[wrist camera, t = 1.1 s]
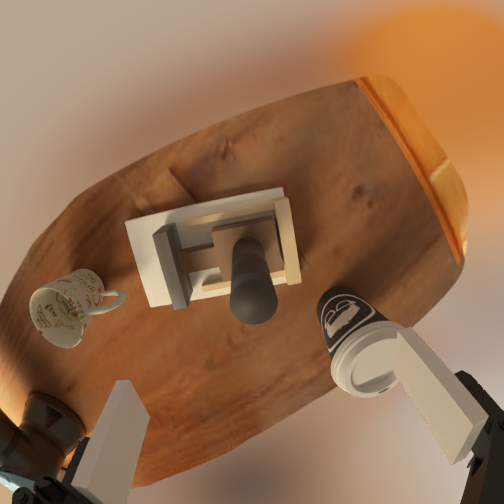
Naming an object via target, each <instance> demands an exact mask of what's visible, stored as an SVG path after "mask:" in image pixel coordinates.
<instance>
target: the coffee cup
mask: <svg viewBox="0 0 504 504" xmlns="http://www.w3.org/2000/svg"><path fill="white" fill-rule="evenodd" d="M317 315H318V318H319V321H320V324H321V327H322V331H323V334H324V337H325V340H326V343H327V346H328V350H329V353H330V356H331V360H332V363H331V375H332V378H333V380H334V381H335V383H336V384H337V385H338V386H339V387H340V388H341V389H343V390H344V391H346V392H348V393H350V394H352V395H354V396H356V397H363V398H367V397H373V396H377V395H380V394H382V393H384V392H386V391H388V390H390V389H391V388H392V387H394V386H395V385H396V384H397V383H398V382H399V380H398V379H397V377H396V376H395V374H394V366H395V357H396V346H397V332H398V331H400V330H403V329H405V328H404V327H403V326H401V325H400V324H398V323H396V322H392V321H389V320H388V319H387V318H386V317H384V316H383V315H382V314H381V313H380V312H379V311H377V310H376V309H375V308H374V307H373V306H372V305H370V304H369V303H368V302H367V301H366V300H364V299H363V298H362V297H361V296H360V295H359V294H357V293H356V292H355V291H354V290H352V289H351V288H349V287H345V286H339V287H335V288H332V289H330V290H329V291H327V292H326V293H325V294H324V295H323V296H322V297H321V299H320V300H319V302H318V305H317Z"/></svg>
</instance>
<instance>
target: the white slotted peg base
mask: <svg viewBox="0 0 504 504" xmlns="http://www.w3.org/2000/svg"><path fill="white" fill-rule="evenodd" d="M270 215H271V216H272V218H273V219H274V223H275V229H276V234H277V240H278V246H279V252H280V258H281V263H282V269H283V271H278V272H273V273H270V275H271V278H272V282H273V285H277V284H282V283H288V285H292V284H297V283H302V282H301V274H300V268H299V261H298V254H297V247H296V241H295V235H294V228H293V222H292V216H291V210H290V204H289V199H288V198H287V197H285V196H284V192H283V187H277V188H272V189H266V190H261V191H256V192H251V193H246V194H241V195H236V196H231V197H226V198H221V199H216V200H211V201H207V202H202V203H198V204H193V205H189V206H184V207H180V208H176V209H171V210H167V211H163V212H159V213H155V214H151V215H147V216H143V217H139V218H135V219H131V220H127V221H126V222H125V225H126V229H127V233H128V236H129V240H130V243H131V247H132V250H133V254H134V257H135V261H136V264H137V267H138V270H139V274H140V277H141V280H142V283H143V286H144V289H145V292H146V295H147V298H148V301H149V304H150V307H156V306H162V305H168V304H172V301H171V298H170V295H169V292H168V289H167V285H166V282H165V279H164V275H163V272H162V269H161V265H160V262H159V258H158V255H157V251H156V247H155V244H154V240H153V236H152V234H153V233H155V232H156V231H157V230H158V229H159V228H160V227H162V226H163V225H166V224H171V223H176V227H177V231H178V235H179V239H180V243H181V247H182V249H184V248H189V247H193V246H198V245H203V244H208V243H213V238H212V234H211V232H212V229H213V227H215V226H220V225H225V224H230V223H235V222H240V221H245V220H250V219H255V218H260V217H265V216H270ZM189 277H190V281H191V284H192V288H193V293H192V296H191V299H190V301H192V300H197V299H203V298H209V297H214V296H220V295H225V294H230V292H231V281H227V282H223V280H222V276H221V272H220V268H219V267H217V268H212V269H207V270H202V271H197V272H191V273H189Z"/></svg>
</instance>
